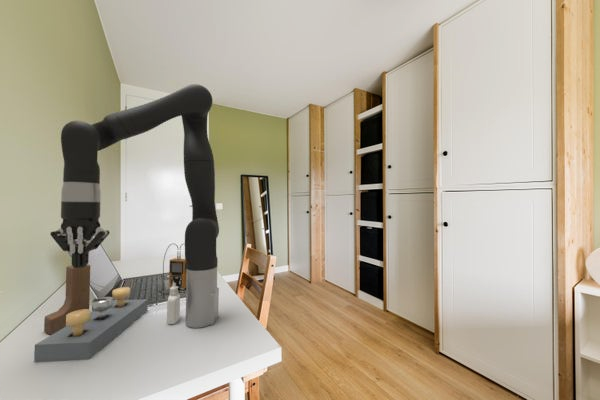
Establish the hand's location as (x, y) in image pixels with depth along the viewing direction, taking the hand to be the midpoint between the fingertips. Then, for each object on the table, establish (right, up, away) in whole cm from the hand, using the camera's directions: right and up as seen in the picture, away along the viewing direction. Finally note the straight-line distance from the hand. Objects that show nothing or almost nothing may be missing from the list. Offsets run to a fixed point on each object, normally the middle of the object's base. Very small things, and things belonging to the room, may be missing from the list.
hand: (79, 267), depth 61 cm
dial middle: (-1, -18, +8) cm, 20 cm away
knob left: (0, -18, 0) cm, 18 cm away
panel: (-1, -21, +8) cm, 23 cm away
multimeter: (+3, -22, +40) cm, 45 cm away
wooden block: (-14, -21, +11) cm, 27 cm away
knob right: (-2, -18, +17) cm, 25 cm away
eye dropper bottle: (+16, -22, +15) cm, 31 cm away
